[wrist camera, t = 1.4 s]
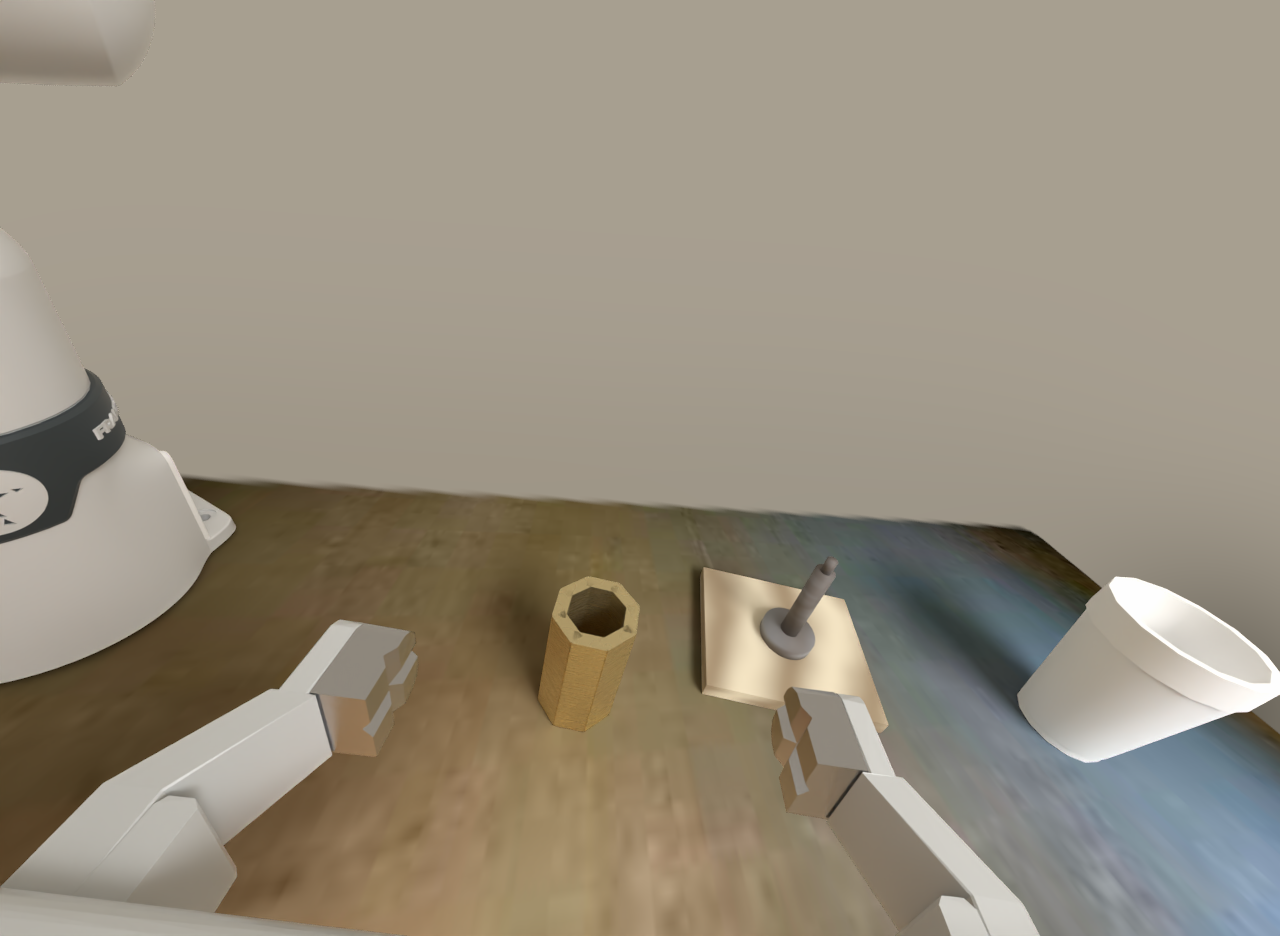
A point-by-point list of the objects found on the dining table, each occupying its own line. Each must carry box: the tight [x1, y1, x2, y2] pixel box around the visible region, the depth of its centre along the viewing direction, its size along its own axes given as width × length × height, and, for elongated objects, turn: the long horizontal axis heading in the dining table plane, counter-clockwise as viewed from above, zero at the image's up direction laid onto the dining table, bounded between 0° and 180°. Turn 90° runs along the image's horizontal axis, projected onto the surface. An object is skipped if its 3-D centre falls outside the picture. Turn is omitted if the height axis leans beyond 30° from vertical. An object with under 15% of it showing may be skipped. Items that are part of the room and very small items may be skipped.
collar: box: [538, 576, 640, 732], centre depth 30 cm, size 5×5×9 cm
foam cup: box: [1017, 577, 1280, 762], centre depth 36 cm, size 10×9×13 cm
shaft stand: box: [700, 557, 888, 733], centre depth 37 cm, size 14×12×10 cm
